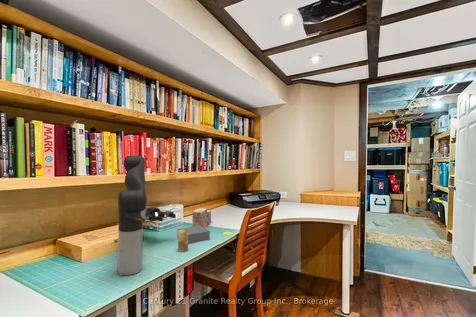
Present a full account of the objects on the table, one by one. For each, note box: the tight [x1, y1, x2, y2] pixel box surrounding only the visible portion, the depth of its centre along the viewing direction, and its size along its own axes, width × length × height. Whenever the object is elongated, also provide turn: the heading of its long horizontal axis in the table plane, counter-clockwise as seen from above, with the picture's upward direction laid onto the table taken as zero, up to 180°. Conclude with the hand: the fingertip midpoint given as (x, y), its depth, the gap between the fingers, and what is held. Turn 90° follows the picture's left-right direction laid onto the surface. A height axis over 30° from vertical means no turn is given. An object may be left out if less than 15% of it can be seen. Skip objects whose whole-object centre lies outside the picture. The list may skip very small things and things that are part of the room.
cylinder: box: [177, 228, 189, 253], centre depth 126 cm, size 5×5×10 cm
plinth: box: [176, 225, 211, 245], centre depth 144 cm, size 14×14×5 cm
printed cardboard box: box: [192, 207, 212, 229], centre depth 171 cm, size 21×6×12 cm, turn 169°
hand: (168, 217), depth 132 cm, fingers open, 8 cm apart
